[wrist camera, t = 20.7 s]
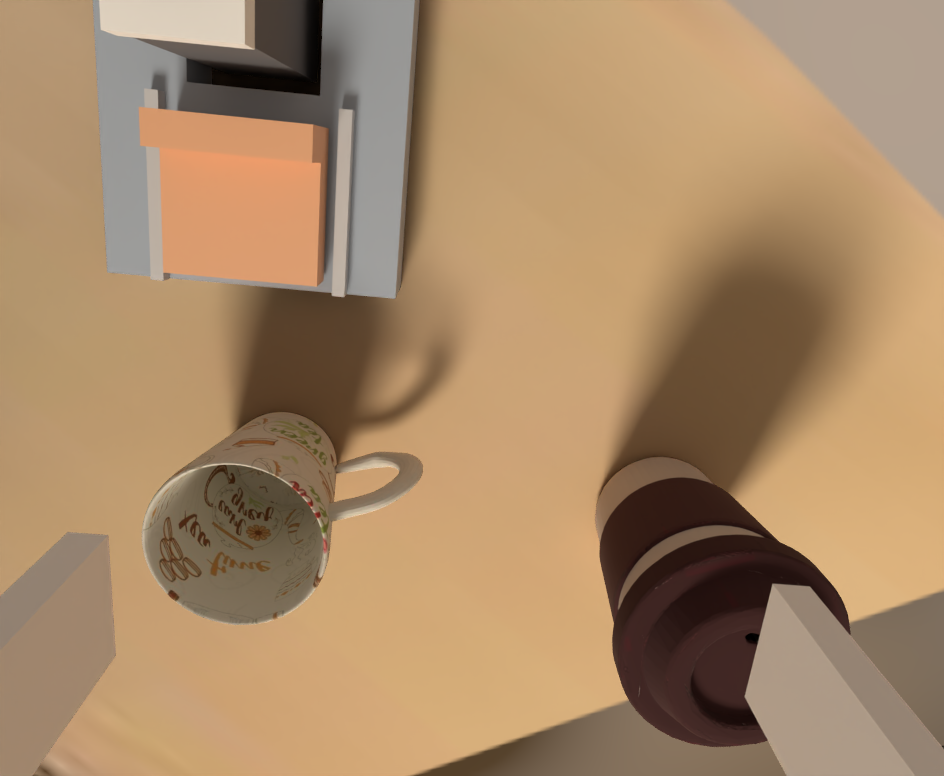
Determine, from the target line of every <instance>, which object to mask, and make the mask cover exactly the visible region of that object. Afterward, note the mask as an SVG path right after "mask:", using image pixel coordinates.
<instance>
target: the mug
mask: <svg viewBox="0 0 944 776" xmlns="http://www.w3.org/2000/svg"><path fill="white" fill-rule="evenodd" d="M382 467H393V468H396V469H398V470H399V474H398V476H397V477H396V478H394V479H393V480H392V481H391V482H389V483H388V484H387V485H385V486H384V487H382V488H380V489H378V490H376V491H374V492H372V493H369V494H366V495H363V496H359V497H355V498H351V499H346V500H342V501H337V502H334V495H335V483H336V474H337V473H347V472H353V471H358V470H364V469H370V468H382ZM422 473H423V465H422V463H421V461H420V460H419V459H418V458H417V457H415V456H413V455H410V454H407V453H394V452H375V453H371V454H368V455H364V456H361V457H358V458H355V459H351V460H348V461H345V462H343V463H340V464H338V465H337V460H336V454H335V450H334V447H333V445H332V442H331V440H330V439H329V437H328V436H327V434H326V433H325V432H324V431H323V430H322V429H321V428H320V427H319V426H318V425H317V424H316V423H314V422H313V421H311V420H310V419H308V418H306V417H303V416H301V415H298V414H294V413H288V412H274V413H268V414H264V415H262V416H259V417H257V418H255V419H253V420H252V421H250V422H248V423H247V424H245V425H244V426H242V427H241V428H240V429H238V430H237V431H235V432H234V433H232V434H231V435H230V436H228V437H227V438H225V439H224V440H222V441H221V442H219V443H218V444H217V445H215V446H214V447H212V448H211V449H209V450H208V451H206V452H205V453H204V454H202V455H201V456H199V457H198V458H196V459H195V460H194V461H192V462H191V463H189V464H188V465H186V466H185V467H183V468H182V469H181V470H179V471H178V472H177V473H175V474H174V475H173V476H172V477H171V478H169V479H168V480H167V481H166V482H165V483H164V484H163V485H162V487H161V488H160V489H159V490H158V491H157V493H156V494H155V495H154V497H153V499H152V500H151V502H150V504H149V506H148V509H147V511H146V514H145V517H144V521H143V527H142V545H143V551H144V556H145V559H146V562H147V565H148V567H149V569H150V571H151V573H152V575H153V577H154V578H155V580H156V581H157V583H158V584H159V585H160V587H161V588H162V589H163V590H164V591H165V592H166V593H167V594H168V595H169V596H170V597H171V598H172V599H173V600H174V601H176V602H177V603H178V604H179V605H181V606H182V607H184V608H185V609H187V610H189V611H191V612H192V613H194V614H196V615H199V616H201V617H203V618H206V619H209V620H212V621H216V622H220V623H225V624H234V625H251V624H259V623H264V622H268V621H272V620H275V619H278V618H280V617H283V616H285V615H286V614H288V613H290V612H292V611H293V610H295V609H296V608H298V607H299V606H300V605H301V604H303V603H304V602H305V601H306V600H307V599H308V598H309V597H310V596H311V594H312V593H313V592H314V591H315V589H316V588H317V586H318V585H319V583H320V581H321V579H322V577H323V574H324V572H325V569H326V566H327V562H328V557H329V551H330V542H331V530H332V521H336V520H340V519H345V518H349V517H353V516H357V515H361V514H365V513H369V512H372V511H375V510H378V509H381V508H383V507H385V506H387V505H389V504H391V503H393V502H394V501H396V500H398V499H399V498H401V497H402V496H403V495H405V494H406V493H407V492H409V491H410V490H411V489H412V488H413V487H414V486H415V485H416V483H417V482H418V481H419V479H420V478H421V476H422Z"/></svg>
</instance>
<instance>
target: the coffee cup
mask: <svg viewBox="0 0 944 776" xmlns="http://www.w3.org/2000/svg"><path fill="white" fill-rule="evenodd" d="M595 522H596V528H597V533H598V537H599V541H600V562H601V567H602V571H603V576H604V580H605V585H606V589H607V594H608V598H609V603H610V607H611V612H612V616H613V621H614V628H613V637H612V643H613V656H614V661H615V664H616V668H617V671H618V674H619V677H620V681H621V684H622V687H623V689H624V691H625V694H626V696H627V697H628V699H629V701H630V703H631V704H632V705H633V707H634V708H635V709H636V711H637V712H638V713H639V714H640V715H641V716H642V717H643V718H644V719H645V720H646V721H647V722H649V723H650V724H651V725H653V726H654V727H655V728H657V729H658V730H660V731H662V732H664V733H666V734H667V735H669V736H671V737H673V738H676V739H679V740H682V741H685V742H688V743H692V744H698V745H704V746H710V747H726V746H739V745H746V744H757V743H760V742H764V741H768V740H767V738H766V736H765V734H764V732H763V730H762V728H761V727H760V725H759V723H758V721H757V719H756V717H755V715H754V713H753V712H752V710H751V708H750V706H749V704H748V702H747V700H746V698H745V693H746V689H747V685H748V681H749V677H750V673H751V669H752V665H753V661H754V657H755V653H756V649H757V645H758V641H759V637H760V633H761V629H762V625H763V621H764V617H765V612H766V608H767V604H768V600H769V596H770V592H771V588H772V584H783V585H797V586H810V587H811V589H812V590H813V591H814V592H815V593H816V595H817V596H818V597H819V598H820V599H821V601H822V602H823V603H824V604H825V606H826V607H827V608H828V609H829V610H830V612H831V613H832V614H833V615H834V616H835V618H836V619H837V620H838V621H839V623H840V624H841V625H842V626H843V627H844V629H845V630H846V631H847V632H848V633H849V635H850V626H849V619H848V614H847V611H846V608H845V605H844V603H843V601H842V599H841V597H840V595H839V594H838V592H837V591H836V589H835V588H834V587H833V585H832V584H831V583H830V582H829V581H828V579H827V578H826V577H825V576H824V575H823V574H822V573H821V572H820V570H819V569H818V568H817V567H816V566H815V565H814V564H813V563H812V562H811V561H810V560H809V559H807V558H806V557H805V556H803V555H802V554H801V553H799V552H798V551H796V550H794V549H793V548H791V547H789V546H787V545H785V544H782V543H780V542H779V541H778V540H777V539H776V538H775V537H774V536H773V535H772V534H770V533H769V532H768V531H767V530H766V529H765V528H764V527H763V526H762V525H761V524H760V523H759V522H758V521H757V520H756V519H755V518H754V517H753V516H752V515H751V514H750V513H749V512H748V511H747V510H746V509H745V508H744V507H742V506H741V505H740V504H739V503H738V502H737V501H736V500H735V499H734V498H733V497H732V496H731V495H730V494H728V493H727V492H726V491H724V490H723V489H721V488H719V487H718V486H716V485H714V484H713V483H712V482H711V481H710V480H709V479H708V478H707V477H706V476H705V475H704V474H703V473H702V472H701V471H700V470H698V469H697V468H696V467H694V466H692V465H691V464H689V463H686V462H684V461H681V460H678V459H674V458H668V457H651V458H646V459H642V460H639V461H636V462H634V463H631V464H629V465H627V466H626V467H624V468H623V469H621V470H620V471H619V472H617V473H616V474H615V475H614V476H613V477H612V478H611V479H610V480H609V481H608V483H607V484H606V485H605V487H604V488H603V490H602V492H601V494H600V496H599V499H598V503H597V506H596V514H595Z"/></svg>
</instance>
